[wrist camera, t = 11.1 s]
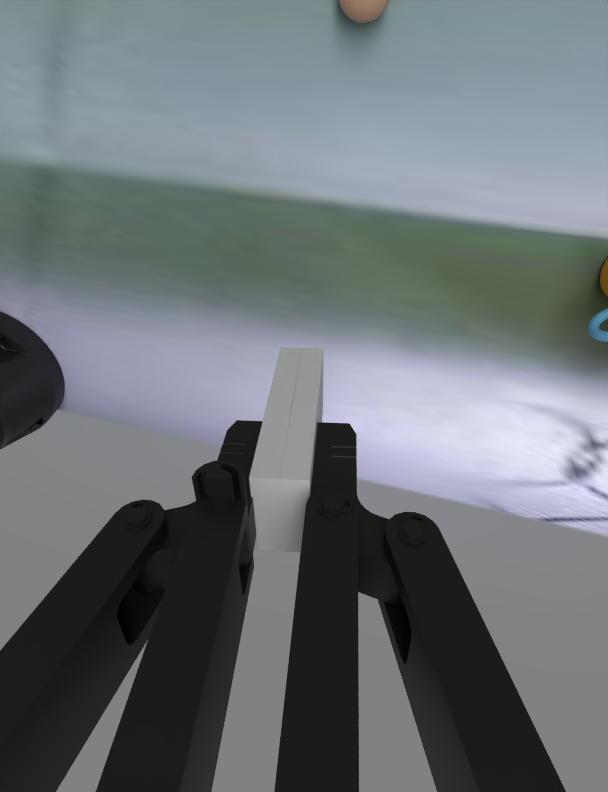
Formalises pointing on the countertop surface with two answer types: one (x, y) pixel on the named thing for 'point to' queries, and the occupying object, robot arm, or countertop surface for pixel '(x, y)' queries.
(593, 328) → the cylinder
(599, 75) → the countertop surface
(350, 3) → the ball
